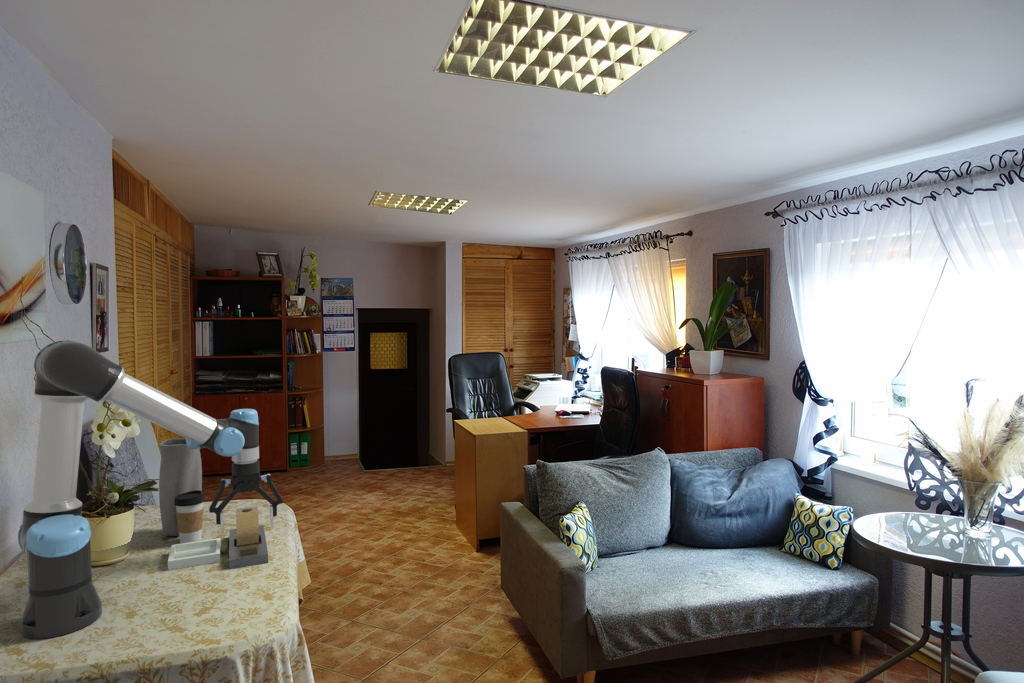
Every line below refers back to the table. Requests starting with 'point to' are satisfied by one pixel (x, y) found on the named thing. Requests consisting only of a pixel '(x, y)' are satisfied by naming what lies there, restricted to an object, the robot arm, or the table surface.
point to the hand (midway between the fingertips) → (247, 530)
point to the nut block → (247, 526)
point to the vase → (177, 479)
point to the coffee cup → (190, 515)
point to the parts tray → (194, 553)
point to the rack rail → (247, 551)
